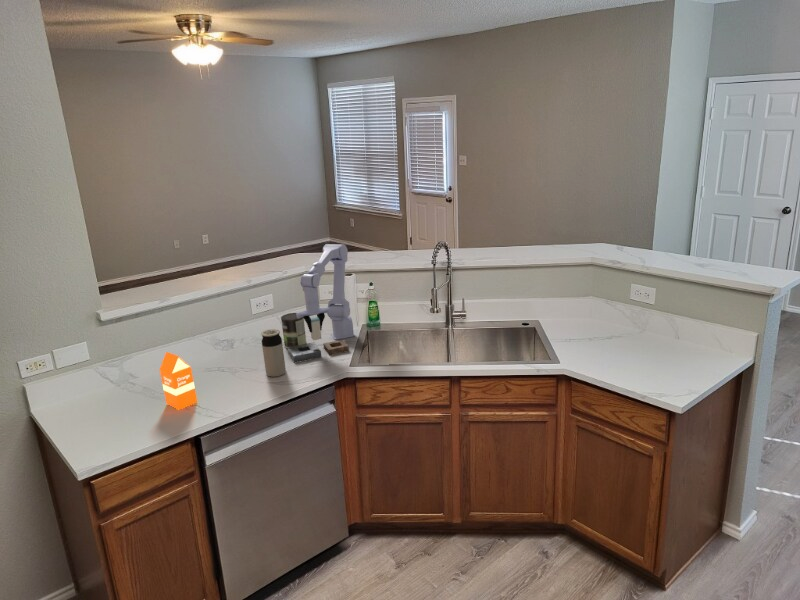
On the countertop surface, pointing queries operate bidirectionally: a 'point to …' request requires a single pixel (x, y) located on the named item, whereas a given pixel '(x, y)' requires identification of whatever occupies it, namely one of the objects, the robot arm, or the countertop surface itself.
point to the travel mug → (273, 353)
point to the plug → (315, 328)
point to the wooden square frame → (335, 347)
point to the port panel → (304, 352)
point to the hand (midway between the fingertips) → (315, 330)
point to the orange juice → (177, 382)
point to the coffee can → (293, 330)
